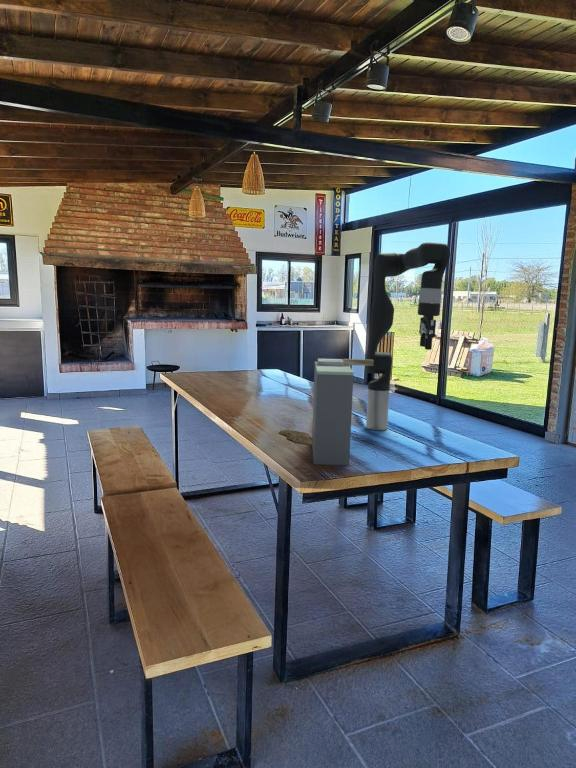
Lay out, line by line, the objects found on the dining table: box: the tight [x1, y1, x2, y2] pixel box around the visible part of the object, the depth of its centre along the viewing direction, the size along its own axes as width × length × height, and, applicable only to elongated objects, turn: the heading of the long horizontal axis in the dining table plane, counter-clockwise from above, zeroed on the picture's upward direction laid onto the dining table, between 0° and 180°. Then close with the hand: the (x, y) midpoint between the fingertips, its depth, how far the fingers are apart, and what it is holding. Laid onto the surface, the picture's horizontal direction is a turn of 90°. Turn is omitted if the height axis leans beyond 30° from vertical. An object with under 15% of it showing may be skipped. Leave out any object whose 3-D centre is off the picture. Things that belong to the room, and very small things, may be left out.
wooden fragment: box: [278, 428, 312, 446], centre depth 219 cm, size 26×11×1 cm, turn 22°
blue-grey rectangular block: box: [311, 361, 354, 466], centre depth 196 cm, size 26×12×32 cm, turn 179°
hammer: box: [317, 358, 374, 367], centre depth 199 cm, size 8×20×2 cm, turn 89°
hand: (425, 348), depth 193 cm, fingers open, 8 cm apart
